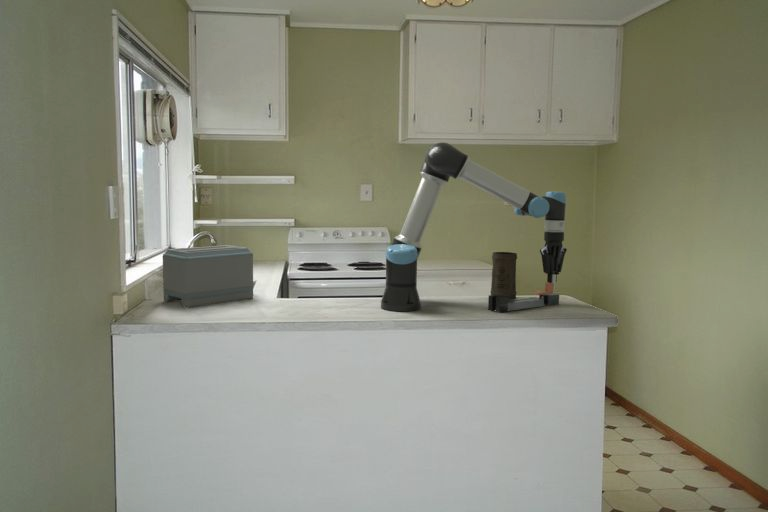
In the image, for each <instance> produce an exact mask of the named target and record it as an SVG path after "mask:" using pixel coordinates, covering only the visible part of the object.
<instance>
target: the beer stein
mask: <svg viewBox="0 0 768 512" xmlns="http://www.w3.org/2000/svg"><path fill="white" fill-rule="evenodd" d="M491 259H492V269H491V286H490V287H491V288H490V295H500V296H501V297H502V296H505V297H508V300H511V299H517V289H516V288H517V286H516V285H517V283H516V281H517V278H516V276H517V259H518V253H516V252H510V251H495V252H492V255H491Z"/></svg>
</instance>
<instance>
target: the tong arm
mask: <svg viewBox="0 0 768 512" xmlns="http://www.w3.org/2000/svg"><path fill="white" fill-rule="evenodd" d="M540 307H545V306H544V299H542V298H539V297H538V298H536V299H528V300H520V301H513V302H508V297H505V296H502V297H496V311H495V312H497V313H502V312H510V311H517V310H525V309H532V308H540Z"/></svg>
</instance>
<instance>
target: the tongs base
mask: <svg viewBox="0 0 768 512" xmlns="http://www.w3.org/2000/svg"><path fill="white" fill-rule="evenodd" d="M496 297H501V296H500V295H491V294H490V295H488V299H487V300H488V303H487V305H488V307H487V310H488V311H490V310H492V311H491V312H494V311H493V310H496ZM536 298H542V299H544V306H543V307H545V306H548V307H550V306H557V304H558V305H559V304H560V294H558V293H556V292H555V293H551V294H543V295H538V297H537V296H530V297H529V296H528V297H521V298H516V299H511V300H508V302H513V301H520V300H528V299H536Z"/></svg>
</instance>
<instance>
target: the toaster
mask: <svg viewBox="0 0 768 512" xmlns="http://www.w3.org/2000/svg"><path fill="white" fill-rule="evenodd" d="M162 276H163V277H162V278H163V279H162V281H163V282H162V283H163V284H162V285H163V286H162V287H163V301H164V302H166V303H173V302H179V301H180V302H181V304H182V306H183V308H185V309H186V308H187V309H188V308H189V309H190V308H197V307H203V306H211V305H218V304H224V303H231V302H236V301H237V302H238V301H245V300H251V299H253V298H254V253H253V252H252V251H251V250H250V249H249V248H248V247H243V246H237V245H229V244H225V245H211V246H209V245H207V246H199V247H197V246H196V247H194V246H193V247H184V248H183V247H181V248H167V250H166V251H165V252H164V253H163V254H162Z"/></svg>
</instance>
